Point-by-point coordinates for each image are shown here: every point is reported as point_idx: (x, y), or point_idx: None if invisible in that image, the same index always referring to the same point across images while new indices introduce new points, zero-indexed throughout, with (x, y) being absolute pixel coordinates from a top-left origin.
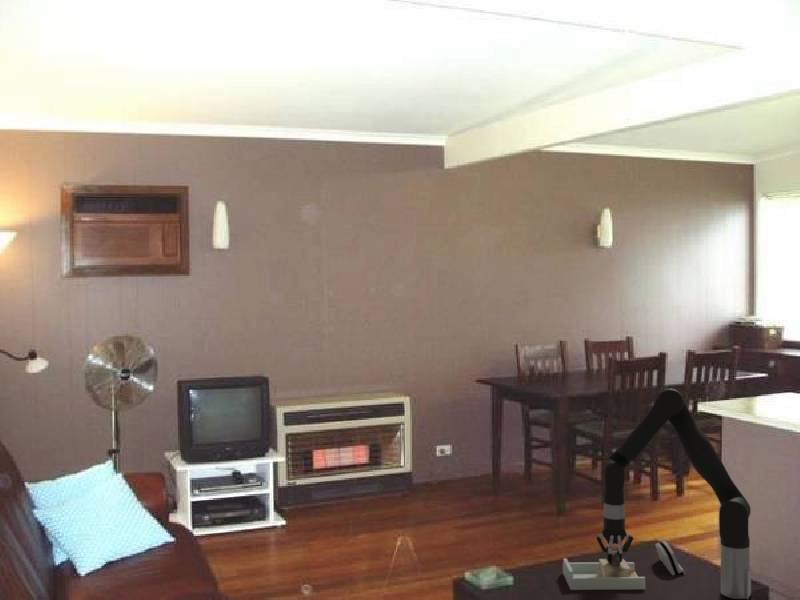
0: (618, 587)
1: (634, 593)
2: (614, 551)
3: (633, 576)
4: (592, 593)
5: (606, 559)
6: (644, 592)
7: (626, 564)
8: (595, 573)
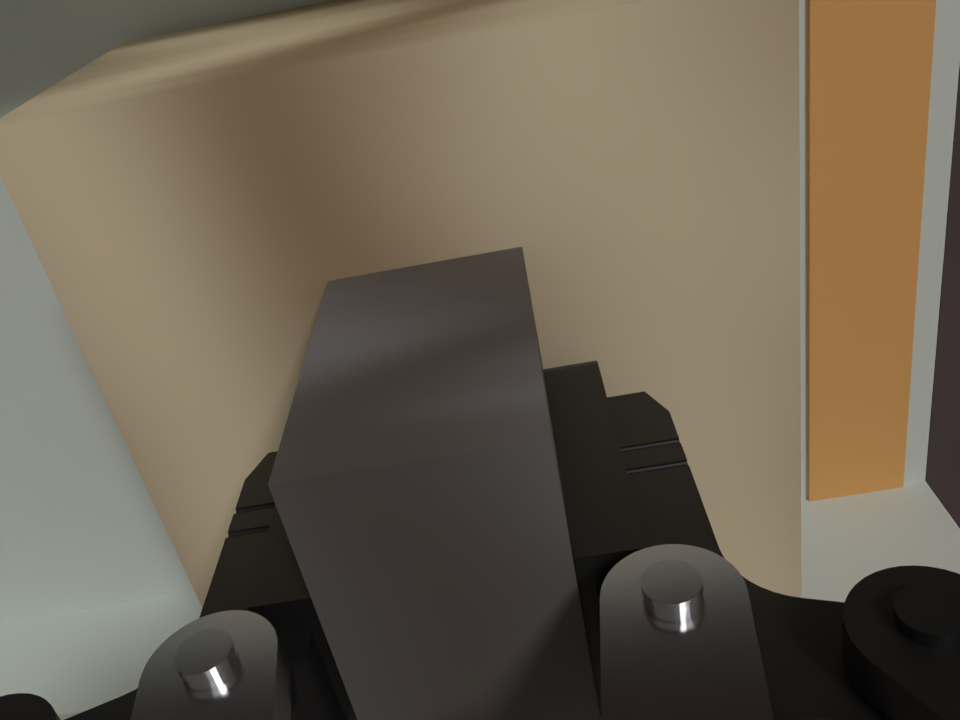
0: None
1: None
2: (473, 566)
3: (853, 127)
4: None
5: (223, 143)
6: None
7: (768, 434)
8: (55, 61)
